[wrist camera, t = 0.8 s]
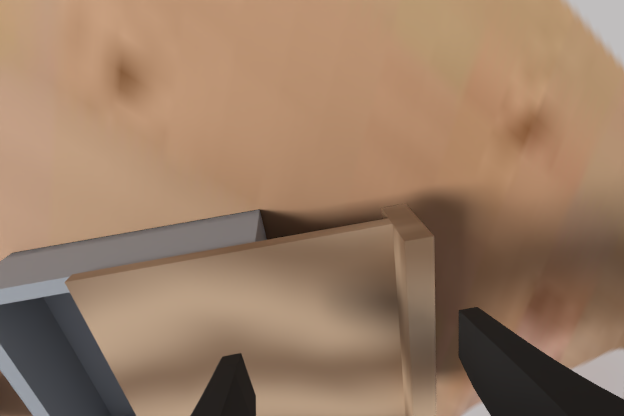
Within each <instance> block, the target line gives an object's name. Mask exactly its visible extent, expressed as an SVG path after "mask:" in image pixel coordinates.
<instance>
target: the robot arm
mask: <svg viewBox="0 0 624 416" xmlns="http://www.w3.org/2000/svg"><path fill="white" fill-rule="evenodd" d="M459 358H460V360H461V363H462V365H463V367H464V369H465V371H466V373H467V375H468V377H469V379H470V381H471V383H472V385H473V387H474V389H475V391H476V392H477V394H478V396H479V397H480V399H481V400H482V402H483V404H484V405H485V407H486V408H487V410H488V412H489V413H490V415H491V416H624V399H622V398H620V397H618V396H616V395H614V394H612V393H611V392H609V391H607V390H605V389H603V388H601V387H599V386H598V385H596V384H594V383H592V382H591V381H589V380H587V379H585V378H584V377H582V376H580V375H578V374H577V373H575V372H573V371H572V370H570V369H569V368H567V367H565V366H564V365H562V364H560V363H559V362H557V361H556V360H554V359H553V358H551V357H549V356H548V355H546V354H545V353H543V352H542V351H540V350H539V349H537V348H536V347H534V346H533V345H531V344H530V343H528V342H527V341H525V340H524V339H522V338H521V337H519V336H518V335H517V334H515V333H514V332H512V331H511V330H509V329H508V328H506V327H505V326H504V325H502V324H501V323H499V322H498V321H497V320H495V319H494V318H492V317H491V316H489V315H488V314H487V313H485V312H484V311H482V310H481V309H480V308H478V307H474V308H469V309H464V310H459ZM190 416H256V395H255V392H254V389H253V386H252V383H251V380H250V377H249V374H248V371H247V369H246V366H245V363H244V360H243V357H242V354H241V353H238V354H233V355H228V356H223V357H222V358H221V359H220V361H219V363H218V365H217V367H216V369H215V371H214V373H213V375H212V377H211V379H210V381H209V383H208V384H207V386H206V388H205V390H204V392H203V394H202V396H201V398H200V399H199V401H198V403H197V405H196V406H195V408H194V410H193V412H192V414H191V415H190Z"/></svg>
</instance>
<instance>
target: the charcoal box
mask: <svg viewBox="0 0 624 416" xmlns="http://www.w3.org/2000/svg"><path fill="white" fill-rule="evenodd" d="M263 240H267V238H266V234H265V230H264V226H263V221H262V217H261V213H260V210H254V211H248V212H242V213H237V214H231V215H225V216H220V217H214V218H208V219H203V220H197V221H191V222H186V223H180V224H174V225H169V226H163V227H157V228H151V229H146V230H140V231H134V232H129V233H123V234H117V235H112V236H106V237H100V238H95V239H89V240H83V241H78V242H72V243H66V244H60V245H55V246H49V247H43V248H38V249H32V250H26V251H21V252H15V253H11V254H10V255H9V256H7V257H6V258H4V259H3V260H2V261H0V370H1V372H2V373H3V375H4V376H5V377H6V379H7V380H8V382H9V383H10V384H11V386H12V387H13V388H14V390H15V391H16V393H17V394H18V395H19V397H20V398H21V400H22V401H23V402H24V404H25V405H26V407H27V408H28V409H29V411H30V412H31V414H32V415H33V416H136V414H135V412H134V411H133V409H132V407H131V405H130V403H129V401H128V399H127V398H126V396H125V394H124V392H123V390H122V388H121V386H120V385H119V383H118V381H117V379H116V377H115V375H114V373H113V372H112V370H111V368H110V366H109V364H108V362H107V360H106V359H105V357H104V355H103V353H102V351H101V349H100V347H99V346H98V344H97V342H96V340H95V338H94V336H93V334H92V333H91V331H90V329H89V327H88V325H87V323H86V321H85V319H84V318H83V316H82V314H81V312H80V310H79V308H78V306H77V305H76V303H75V301H74V299H73V297H72V295H71V293H70V292H69V290H68V288H67V286H66V284H65V281H66V280H67V279H68V278H69V277H70V276H71V275H72V274H77V273H83V272H88V271H94V270H100V269H105V268H111V267H116V266H122V265H128V264H133V263H139V262H145V261H150V260H156V259H162V258H167V257H173V256H178V255H184V254H190V253H195V252H201V251H207V250H212V249H218V248H224V247H229V246H235V245H240V244H246V243H252V242H257V241H263Z"/></svg>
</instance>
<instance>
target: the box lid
mask: <svg viewBox="0 0 624 416" xmlns="http://www.w3.org/2000/svg"><path fill="white" fill-rule="evenodd" d="M381 209H382V219H381V220H376V221H370V222H364V223H359V224H353V225H348V226H342V227H336V228H331V229H325V230H319V231H314V232H308V233H302V234H297V235H291V236H286V237H280V238H274V239H269V240H263V241H257V242H252V243H246V244H240V245H235V246H229V247H224V248H218V249H212V250H207V251H201V252H195V253H190V254H184V255H178V256H173V257H167V258H162V259H156V260H150V261H145V262H139V263H133V264H128V265H122V266H116V267H111V268H105V269H100V270H94V271H88V272H83V273H77V274H72V275H71V276H70V277H69V278H68V279H67V280H66V281H65V284H66V286H67V288H68V290H69V292H70V293H71V295H72V297H73V299H74V301H75V303H76V305H77V306H78V308H79V310H80V312H81V314H82V316H83V318H84V319H85V321H86V323H87V325H88V327H89V329H90V331H91V333H92V334H93V336H94V338H95V340H96V342H97V344H98V346H99V347H100V349H101V351H102V353H103V355H104V357H105V359H106V360H107V362H108V364H109V366H110V368H111V370H112V372H113V373H114V375H115V377H116V379H117V381H118V383H119V385H120V386H121V388H122V390H123V392H124V394H125V396H126V398H127V399H128V401H129V403H130V405H131V407H132V409H133V411H134V412H135V414H136V416H190V415H191V414H192V412H193V410H194V408H195V406H196V405H197V403H198V401H199V399H200V398H201V396H202V394H203V392H204V390H205V388H206V386H207V384H208V383H209V381H210V379H211V377H212V375H213V373H214V371H215V369H216V367H217V365H218V363H219V361H220V359H221V358H222V357H223V356H228V355H233V354H238V353H241V354H242V357H243V360H244V363H245V366H246V369H247V371H248V374H249V377H250V380H251V383H252V386H253V389H254V392H255V395H256V416H437V414H436V331H435V249H434V235H433V234H432V233H431V232H430V231H429V230H428V228H427V227H426V226H425V225H424V224H423V223H422V222H421V221H420V219H419V218H418V217H417V216H416V215H415V214H414V213H413V211H412V210H411V209H410V208H409V207H408V206H407V205H406V204H401V205H395V206H389V207H384V208H381Z"/></svg>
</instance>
